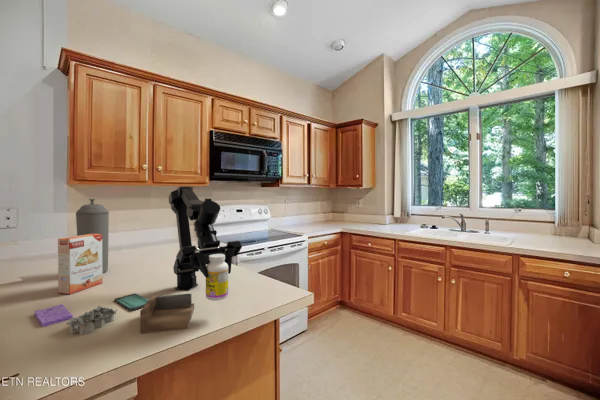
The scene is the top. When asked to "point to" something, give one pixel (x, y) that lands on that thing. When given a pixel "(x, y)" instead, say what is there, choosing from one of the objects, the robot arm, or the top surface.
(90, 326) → the egg carton
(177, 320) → the brown piece
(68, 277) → the cracker box
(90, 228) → the canister
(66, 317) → the sponges
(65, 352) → the top surface
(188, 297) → the gray flat bar
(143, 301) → the smartphone
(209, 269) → the supplement bottle
